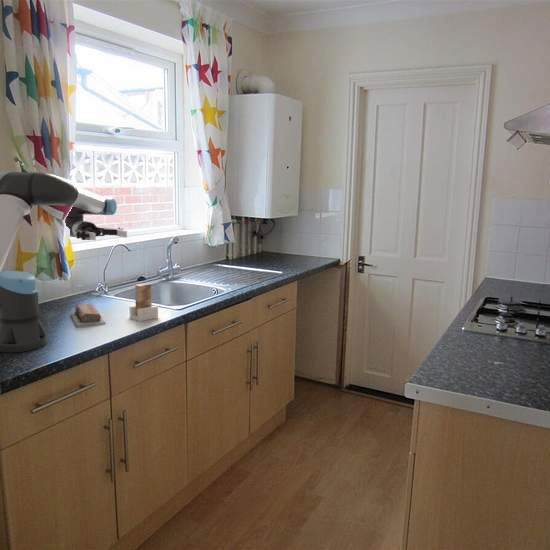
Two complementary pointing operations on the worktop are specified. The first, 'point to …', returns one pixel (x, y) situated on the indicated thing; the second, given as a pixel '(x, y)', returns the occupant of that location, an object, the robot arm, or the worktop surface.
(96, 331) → the worktop surface
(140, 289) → the oak plank
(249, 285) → the worktop surface
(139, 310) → the cream stone block
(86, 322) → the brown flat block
